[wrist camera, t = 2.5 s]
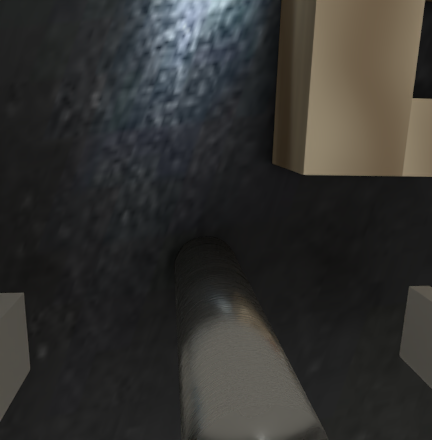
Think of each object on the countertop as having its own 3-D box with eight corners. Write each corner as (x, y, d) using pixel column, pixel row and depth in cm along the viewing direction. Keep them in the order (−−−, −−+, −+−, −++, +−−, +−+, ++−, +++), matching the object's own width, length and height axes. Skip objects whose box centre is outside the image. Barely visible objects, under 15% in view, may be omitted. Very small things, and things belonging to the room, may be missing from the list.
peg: (174, 296, 20) (182, 539, 8) (174, 236, 19) (183, 409, 7) (235, 294, 20) (325, 525, 8) (237, 236, 19) (339, 400, 8)
